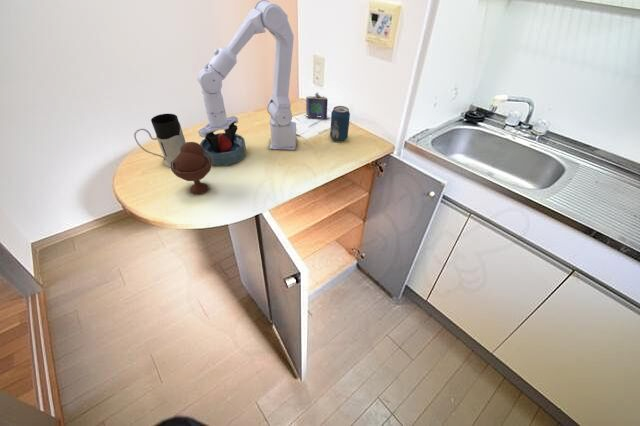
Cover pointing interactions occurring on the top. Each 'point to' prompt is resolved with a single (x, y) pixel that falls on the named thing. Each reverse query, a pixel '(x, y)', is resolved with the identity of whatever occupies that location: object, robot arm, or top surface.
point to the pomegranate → (224, 143)
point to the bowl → (228, 157)
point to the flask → (316, 107)
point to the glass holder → (166, 136)
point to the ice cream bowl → (192, 166)
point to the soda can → (339, 123)
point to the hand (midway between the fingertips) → (223, 148)
